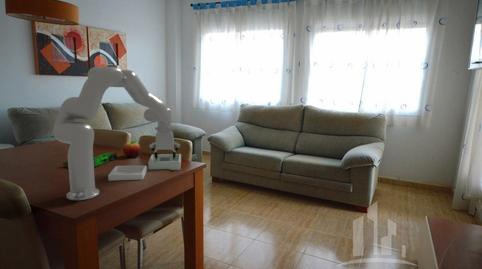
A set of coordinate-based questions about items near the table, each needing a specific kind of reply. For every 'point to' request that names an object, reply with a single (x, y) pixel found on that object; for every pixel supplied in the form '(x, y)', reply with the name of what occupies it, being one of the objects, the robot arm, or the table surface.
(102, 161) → the submachine gun
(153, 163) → the bin
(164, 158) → the stone block
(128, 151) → the fruit
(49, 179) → the table surface
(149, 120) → the robot arm
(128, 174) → the tub
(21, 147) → the table surface
